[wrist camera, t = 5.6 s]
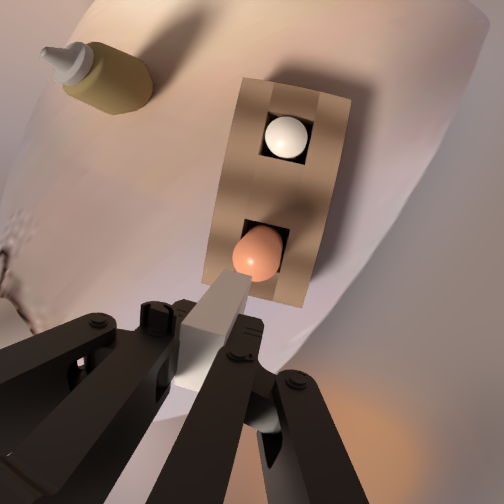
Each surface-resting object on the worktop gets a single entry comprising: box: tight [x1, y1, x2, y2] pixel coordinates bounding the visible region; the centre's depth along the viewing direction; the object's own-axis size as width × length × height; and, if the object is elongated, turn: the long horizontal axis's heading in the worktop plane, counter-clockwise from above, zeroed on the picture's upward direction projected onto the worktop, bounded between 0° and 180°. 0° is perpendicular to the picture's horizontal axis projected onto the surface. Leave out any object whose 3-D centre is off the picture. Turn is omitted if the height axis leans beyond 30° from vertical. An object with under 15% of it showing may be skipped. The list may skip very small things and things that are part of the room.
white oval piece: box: [265, 117, 307, 161], centre depth 29 cm, size 4×4×6 cm
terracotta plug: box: [232, 225, 283, 282], centre depth 27 cm, size 4×4×6 cm
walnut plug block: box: [201, 78, 352, 308], centre depth 31 cm, size 22×11×6 cm, turn 168°
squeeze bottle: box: [40, 42, 153, 115], centre depth 24 cm, size 8×8×18 cm
